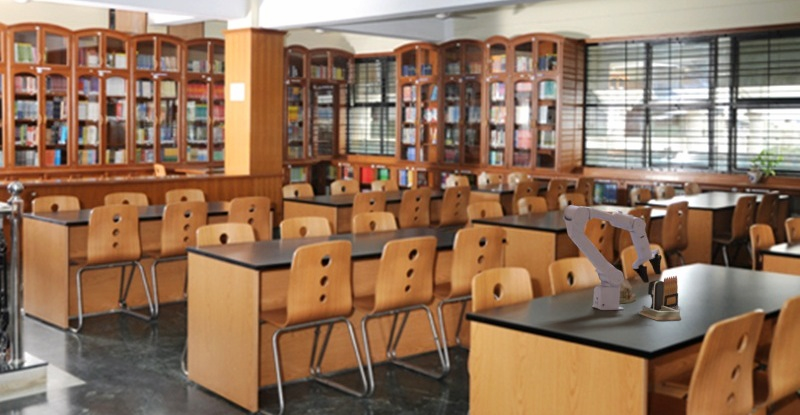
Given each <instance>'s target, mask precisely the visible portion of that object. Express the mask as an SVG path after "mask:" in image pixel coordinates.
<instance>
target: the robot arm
mask: <svg viewBox="0 0 800 415" xmlns="http://www.w3.org/2000/svg"><path fill="white" fill-rule="evenodd" d="M562 219H563V220H564V223H565V227H566V232H567V235H568V238H570V239H571V241H572V242H573V243H574V244H575V245H576V246H577V248H578V249H579V251H580V252H582V254H583V256H585V258H587V260H588V261H589V262H590V263H591V265H592V266H593V267H594V268H595V273H596V274H597V276H598V279H599V281H600V285H596V286H595V287H594V288H593V300H592V304H593V305H592V307H593V308H595V309H598V310H600V311H614V310H615V311H617V310H620V311H621V310H624V307H622V306H620V303H619V299H620V284H622V282H623V280H624V278H625V275H624V273H623V271H621V270H619V269H617V268H616V267H615V266H614V265H612V263H611V262H609V261H608V260H607V259H606V258H605V257H604V256H603V254H602V253H601V252H600V251H599V249H598V248H597V247H596V246H595V245H594V244H593V242H592V241H591V240H590V238H589V237H588V236H587V235H586V234H585V233H584V231H585V230H584V229H585V227H586V225H587V223H588V221H589V220H590V221H591V220H593V219H598V220H602V221H607V222H609V224H610V226H612V227H615V228H619V229H622V230H626V231H627V232H629V235H630V237H631V241H632V245H633V247H634V250H635V251H634V252H635V253H636V256H637V257H636V258H637V259H636V260H635V261H634V262H633V263H632V264H631V266H632V270H633V271H635V272H636V274H637V275H638V276H639V277H640V278H641V281H642V282H643V283H645V284H647V283H648V284H649V283H650V280H649V275H648V266H646V265H643V264H645V263H646V262H649V263H650V265H651V266H652V269H653V272H654V274H655V275H662V274H661V273H662V272H661V261H662V258H663V257H662V255H661V252H660V249H659V248H655V249H651V245H650V242H649V238H648V237H647V236H648V235H647V233H646V227H647V224H646V222H645V220H644V219H643V218H641V217H638V216H637V217H636V216H634V215H633V214H627V213H623V211H620V210H617V211H614V212H612V213H610V212H607V211H604V210H602V209H598V208H594V207H589V206H581V205H575V204H574V205H573V204H570V205H568V206H566V208H565V209H564V210H563V217H562Z"/></svg>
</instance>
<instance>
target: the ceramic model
mask: <svg viewBox="0 0 800 415" xmlns="http://www.w3.org/2000/svg"><path fill="white" fill-rule="evenodd" d="M632 290H633V287H632V285H631V283H630V281H629V280H627V279H626V277H624V280H623V282H622V284H620V299H619V304H628V303H632V302H635V300H636V297H637V296H636V295H637V294H636V293H631V292H632Z"/></svg>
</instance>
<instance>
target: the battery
mask: <svg viewBox="0 0 800 415" xmlns="http://www.w3.org/2000/svg"><path fill="white" fill-rule="evenodd" d="M647 295H648V296H649V295H650V297H651V305H650V307H649V308H651V309H654V310H657V311H661V306H663V295H664V280H663V281H662V280H652V281H649V282H648V288H647Z"/></svg>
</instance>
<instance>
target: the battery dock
mask: <svg viewBox="0 0 800 415" xmlns="http://www.w3.org/2000/svg"><path fill="white" fill-rule="evenodd" d="M641 308H642V309H641V311H639V313H638V314H639V315H642V316H643V317H646V318H650V319H653V320H655V321H667V320H668V321H670V320H671V321H672V320H674V321H675V320H682V316H681V312H680V310H679V309H678V310H677V309H674V308H673V307H670V308H669V307H666V306H661V310H659V311H657V310H654V309H651V308H650V307H648V306H642V307H641Z"/></svg>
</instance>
